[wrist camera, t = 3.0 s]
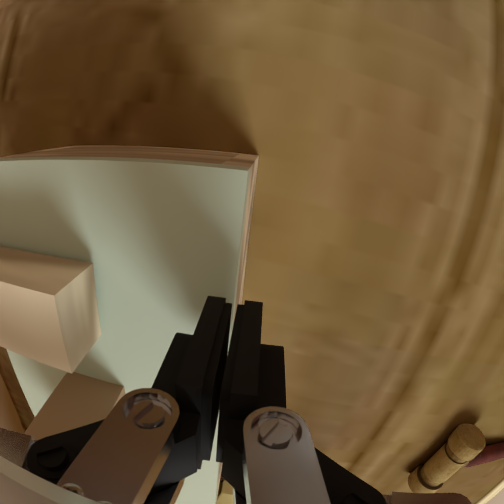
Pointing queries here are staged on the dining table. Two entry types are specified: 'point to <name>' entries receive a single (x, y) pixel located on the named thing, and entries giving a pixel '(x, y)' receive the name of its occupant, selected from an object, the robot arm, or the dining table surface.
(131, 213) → the lid
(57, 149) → the toolbox
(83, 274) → the bar
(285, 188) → the dining table surface
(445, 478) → the gavel
